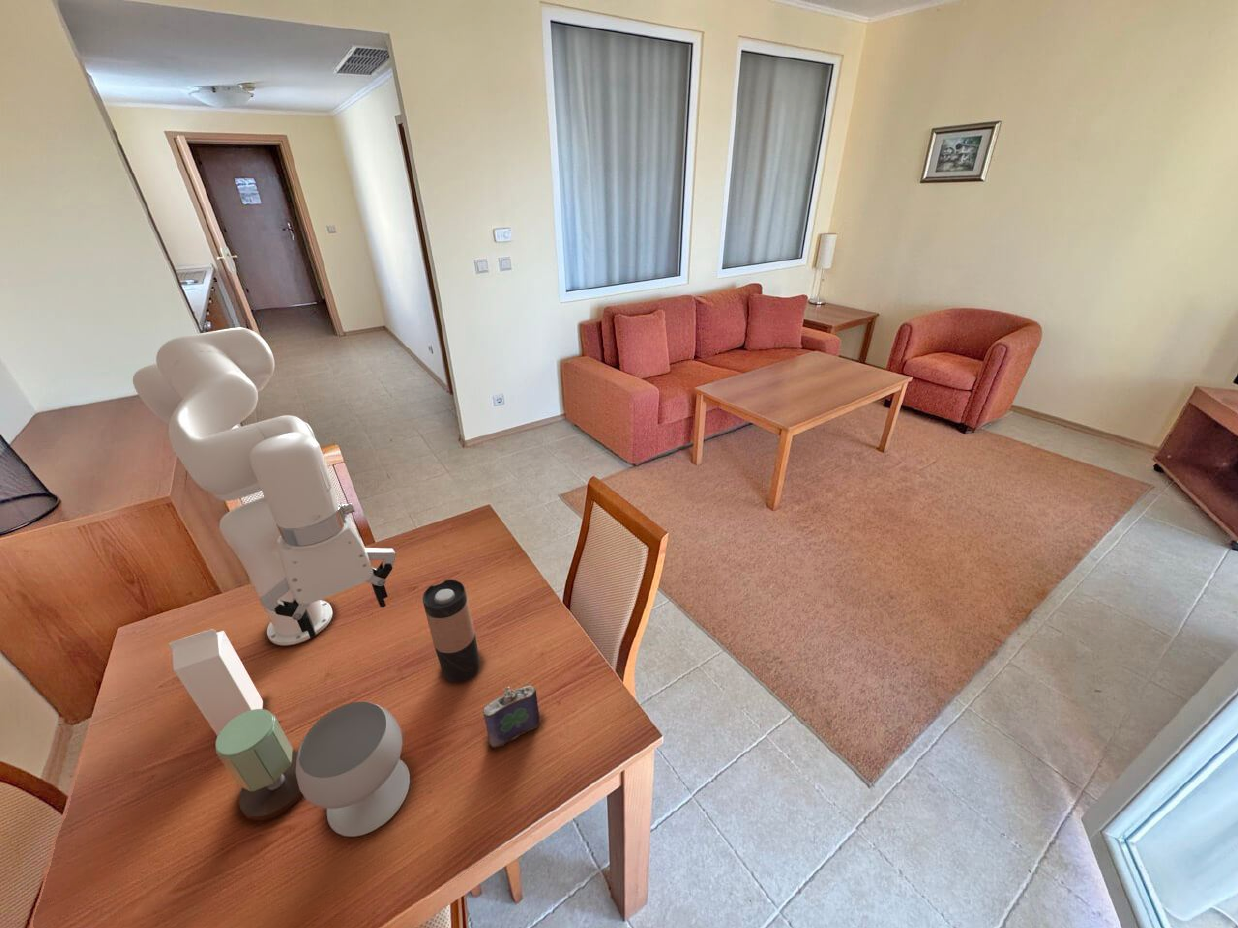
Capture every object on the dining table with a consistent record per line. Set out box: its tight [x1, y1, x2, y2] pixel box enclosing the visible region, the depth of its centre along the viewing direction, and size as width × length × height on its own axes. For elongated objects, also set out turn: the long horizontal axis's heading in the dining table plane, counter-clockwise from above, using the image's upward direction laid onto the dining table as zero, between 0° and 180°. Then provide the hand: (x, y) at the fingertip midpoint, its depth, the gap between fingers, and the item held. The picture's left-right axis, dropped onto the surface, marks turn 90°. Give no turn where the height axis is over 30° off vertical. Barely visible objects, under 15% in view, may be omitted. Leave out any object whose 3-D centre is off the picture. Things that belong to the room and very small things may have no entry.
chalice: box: [296, 701, 411, 838], centre depth 75 cm, size 14×14×15 cm
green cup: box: [214, 708, 294, 791], centre depth 75 cm, size 7×7×9 cm
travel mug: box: [422, 579, 480, 683], centre depth 95 cm, size 8×8×20 cm
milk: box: [168, 628, 264, 738], centre depth 85 cm, size 6×6×22 cm
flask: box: [482, 685, 541, 748], centre depth 85 cm, size 9×3×11 cm, turn 121°
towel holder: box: [238, 750, 304, 821], centre depth 77 cm, size 10×10×14 cm
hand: (347, 616), depth 75 cm, fingers open, 9 cm apart
